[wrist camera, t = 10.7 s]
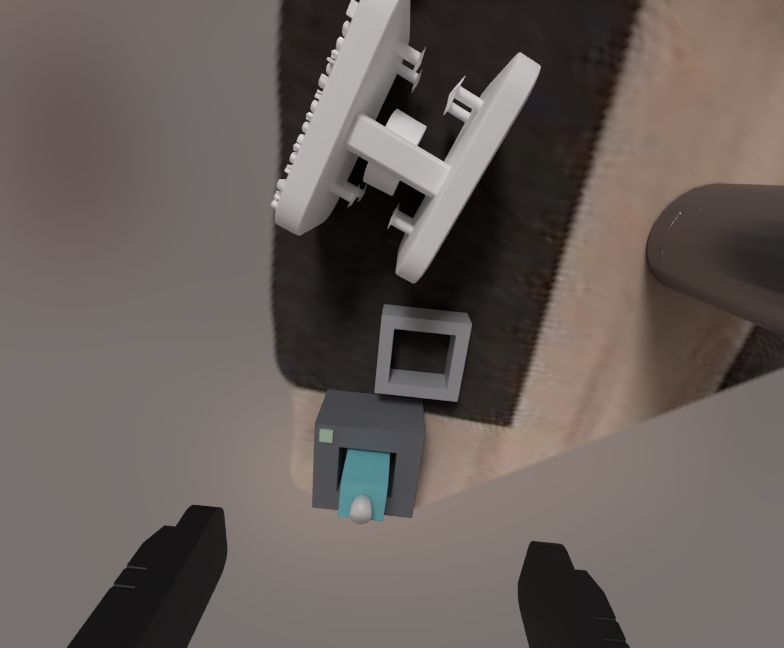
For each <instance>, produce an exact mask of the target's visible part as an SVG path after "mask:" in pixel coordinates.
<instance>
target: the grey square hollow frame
mask: <svg viewBox="0 0 784 648" xmlns="http://www.w3.org/2000/svg"><path fill="white" fill-rule="evenodd" d="M471 327H472V323H471V321H470V319H469V316H468V314H467V313H461V312H452V311H443V310H433V309H424V308H415V307H405V306H396V305H387V304H384V306H383V312H382V320H381V330H380V340H379V351H378V361H377V372H376V382H375V392H374V393H380V394H389V395H398V396H408V397H417V398H427V399H436V400H445V401H455V402H458V396H459V391H460V386H461V380H462V375H463V370H464V364H465V359H466V354H467V348H468V343H469V338H470V332H471ZM394 329H401V330H411V331H420V332H429V333H439V334H448V335H451V336H450V342H449V348H448V354H447V360H446V366H445V372H444V374H436V373H426V372H417V371H407V370H398V369H390V362H391V352H392V343H393V334H394Z"/></svg>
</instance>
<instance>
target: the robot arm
mask: <svg viewBox="0 0 784 648" xmlns="http://www.w3.org/2000/svg"><path fill="white" fill-rule="evenodd" d="M647 258H648V262H649V266H650V268H651V270H652V272H653V274H654V275H655V276H656V277H657V279H658V280H659V281H660V282H662V283H663V284H665V285H667V286H668V287H670V288H673V289H675V290H677V291H680V292H682V293H684V294H687V295H689V296H691V297H694V298H696V299H698V300H700V301H702V302H705V303H707V304H710V305H712V306H714V307H717V308H719V309H721V310H724V311H726V312H728V313H731V314H733V315H735V316H738V317H740V318H742V319H745V320H747V321H749V322H752V323H754V324H756V325H759V326H761V327H763V328H766V329H768V330H771V331H773V332H775V333H778V334H780V335H782V336H784V186H780V185H753V184H710V185H704V186H701V187H698V188H694V189H692V190H690V191H688V192H686V193H685V194H683V195H681V196H680V197H678V198H677V199H676V200H674V201H673V202H672V203H671V204H670V205H669V206H668V207H667V208H666V209H665V210H664V211H663V212H662V213H661V215H660V216H659V218H658V219H657V221H656V222H655V224H654V226H653V228H652V231H651V233H650V236H649V240H648V245H647ZM226 557H227V539H226V529H225V518H224V511H223V509H222V508H220V507H211V506H201V505H192V506H190V507H189V508H188V509H187V510H186V512H185V513H184V515H183V516H182V518H181V519H180V521H179V522H178V524H177V525H176V527H175V526H165V525H164V526H163V527H162V528H161V529H160V530H158V531H157V532H156V533H155V534H153V535H152V536H151V537H150V538H148V539H147V540H146V541H145V542H144V543H143V544H142V545H141V547H140V548H139V549H138V551H137V552H136V553H135V555H134V556H133V557H132V559H131V560H130V562H129V563H128V564H127V568H126V569H124V570H123V571H122V573H121V574H120V575H119V577H118V578H117V579H116V581H115V582H114V585H113V587H112V588H110V589H109V590H108V592H107V593H106V595H105V596H104V597H103V599H102V600H101V601H100V603H99V604H98V605H97V607H96V608H95V610H94V611H93V612H92V614H91V615H90V616H89V618H88V619H87V621H86V622H85V623H84V625H83V626H82V628H81V629H80V630H79V632H78V633H77V634H76V636H75V637H74V639H73V640H72V641H71V643H70V644H69V645H68V647H67V648H187V646H188V644H189V642H190V640H191V638H192V636H193V634H194V632H195V630H196V627H197V625H198V623H199V621H200V619H201V617H202V614H203V613H204V611H205V609H206V606H207V604H208V602H209V600H210V598H211V596H212V594H213V592H214V590H215V587H216V585H217V583H218V581H219V579H220V577H221V574H222V572H223V569H224V566H225V562H226ZM518 602H519V608H520V612H521V616H522V620H523V624H524V628H525V632H526V636H527V640H528V644H529V648H630V647H629V645H628V644H626V641H625V639H626V638H625V637H624V634H623V632H622V630H621V628H620V626H619V623H617V622H616V617H615V615H614V613H613V611H612V608H611V606H610V604H609V602H608V600H607V598H606V595H605V593H604V592H603V591H602V589H601V588H600V587H599V586H598V585H597V583H596V582H595V581H594V580H593V578H592V577H591V576H590V575H589V574H588V572H587V571H584V570H575V569H574V567H573V564H572V562H571V559H570V557H569V555H568V552H567V550H566V548H565V547H564V546H563V545H562V544H557V543H546V542H537V541H532V542H530V544H529V547H528V550H527V554H526V557H525V560H524V564H523V567H522V571H521V574H520V577H519V582H518Z"/></svg>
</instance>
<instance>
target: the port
mask: <svg viewBox="0 0 784 648" xmlns="http://www.w3.org/2000/svg"><path fill="white" fill-rule="evenodd" d="M424 438H425V429H424V414H423V399H414V398H404V397H395V396H385V395H376V394H367V393H357V392H348V391H339V390H329V389H328V390H327V393H326V395H325V398H324V401H323V403H322V406H321V409H320V411H319V414H318V417H317V419H316V422H315V438H314V467H313V499H312V507H315V508H323V509H333V510H338V509H339V498H340V487H341V479H342V474H343V469H344V465H345V460H346V456H347V451H348V448H353V449H363V450H372V451H382V452H390V461H389V477H388V489H387V496H386V503H385V510H384V515H390V516H399V517H408V518H412V514H413V508H414V501H415V495H416V489H417V482H418V476H419V470H420V463H421V457H422V451H423V444H424Z"/></svg>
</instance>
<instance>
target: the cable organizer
mask: <svg viewBox="0 0 784 648" xmlns="http://www.w3.org/2000/svg"><path fill="white" fill-rule="evenodd" d="M346 15H348V16H349V17H351V18H352V21H351V23H349V22H348V21H346V22H345V23H344V25H343V29H342V33H343V36H344V37H345V38H344V39H343V38H342V37H339V38H338V40H337V43H336V50H337V51H336V50H335V49H334V50H332V51H331V52H332V55H331V58H333V59H335V61H334V60H332V59H331V58H329V57H328V58H327V60H328V61H329V63H328V65H327V68H326V72H327V73H328V75H329V77H327V76H325V75H324V74H321V77H320V79H319V86H320V87H321V88H323V92H321V91H320V90H317V93H316V94H315V97H316V98H318V99H319V102H318V101H316V100H314V101H313V102H312V104H311V111H312V112H314V114H312V113H310V112H308V113H307V114H306V115H307V117H306V119H307V120H309V121H310V123H308V122H305V123H304V124H303V127H302V131H303V132H305V135H303V134H300V135H299V137H298V139H297V142H298V143H300V144H301V145H299V144H297V143H296V144H295V145H293V146H294V149H293V150H295V151H297V152H298V153H297V152H293V153H292V154H291V156H290V162H292V163H293V165H287V168H286V169H285V172H287V173H289V175H288V177H287V179H279V181H278V183H277V188H278V189H280V190H281V191H276V194H275V196H274V198H276V199H274V200H273V201H272V203H271V208H273V209H275V210H276V214H275V222H276V224H277V225H279V226H281V227H283V228H285V229H287V230H289V231H290V232H292V233H294V234H296V235H298V236H300V235H302V234H303V233H305V232H307V231H309V230H311V229H312V228H314V227H316V226H318V225H319V224H321V223H323V222H324V221H325V220H326V219H327V218H328V217H329V215H330V214H331V212H332V211H333V209H334V207H335V205H336V203H337V202H338V199H339V197H342V198H343V199H345V200H347V201H349V202H350V204H351V205H352V203H353V202H354V200H355V199H356V197H358V198H359V199H358V201H360V200H361V198H362V197H363V195H364V193H365V189H366V186H367V184H369V185H371V186H373V187H375V188H377V189H379V190H381V191H383V192H385V193H387V194H389V195H391V196H393V194H394V192H395V190H396V188H397V186H398V183H399V181H400V180H401V181H402V182H404V183H406V184H408V185H409V186H411V187H413V188H414V189H416V190H418V191H420V192H421V193H423V194H425V195H426V196H425V197H424V199H423V201H422V203H421V205H420V207H419V208H418V210H417V212H416V214H415V216H414V218H411V217H409V216H408V215H406V214H404V213H402V212H400V211H399V210H398V209H399V208H398V206H399V205H398V206H397V207H396V209H395V210H394V211H393V215H392V217H391V219H390V223H389V226H390V224H391V225H392V226H394V227H396V228H398V229H400V230H401V231H403V232H405V235H404V237H403V239H402V241H401V244H400V246H399V250H398V257H397V265H396V275H398V276H400V277H402V278H404V279H405V280H407V281H409V282H411V283H416V282H417V281H418V280H419V279H420V278H421V276H422V275H423V274H424V273H425V271H426V270H427V268H428V267H429V265H430V264H431V262H432V261H433V259H434V257H435V256H436V254H437V252H438V250H439V249H440V247H441V245H442V244H443V242H444V240H445V239H446V237H447V235H448V233H449V232H450V230H451V228H452V227H453V225H454V223H455V222H456V220H457V218H458V216H459V215H460V213H461V211H462V210H463V208H464V206H465V204H466V203H467V201H468V199H469V198H470V196H471V194H472V193H473V191H474V189H475V187H476V186H477V184H478V182H479V181H480V179H481V177H482V176H483V174H484V172H485V170H486V169H487V167H488V165H489V164H490V162H491V160H492V158H493V157H494V155H495V153H496V152H497V150H498V148H499V147H500V145H501V143H502V141H503V140H504V138H505V136H506V135H507V133H508V131H509V130H510V128H511V126H512V124H513V123H514V121H515V119H516V118H517V116H518V114H519V112H520V111H521V109H522V107H523V106H524V104H525V102H526V100H527V99H528V97H529V95H530V93H531V91H532V89H533V87H534V85H535V83H536V80H537V78H538V75H539V72H540V65H539V64H537V63H536V62H534V61H533V60H531V59H530V58H528V57H527V56H525V55H524V54H522V53H518V54H517V55H516V56H515V57H514V58H513V59H512V60H511V61H510V62H509V63H508V65H507V66H506V67H505V68H504V69H503V70H502V71H501V72H500V73H499V74H498V76H497V77H496V78H495V79H494V80H493V81H492V82H491V83H490V84H489V86H488V87H487V88H486V89H485V91H484V92H483V93H482V95H481V96H480V98H478V97H477V96H475V95H474V94H472V93H470V92H469V91H467V90H466V89H464V88H462V87H461V86H460V85H461V83H462V81H463V79H464V78H463V79H462V80H461V81H460V82H459V83H458V85H457V86H456V87H455V88H454V89H453V90H452V92H451V93H450V94H449V98H448V103H447V106H446V109H445V112H444V114H445V113H446V112H449V113H451V114H452V115H454V116H455V117H457V118H459V119H460V120H462V121H463V122H465V124H464V126H463V128H462V129H461V131H460V133H459V135H458V137H457V139H456V140H455V142H454V144H453V146H452V148H451V150H450V151H449V153H448V155H447V157H446V159H445V161H444V162H443V161H442V160H440V159H438V158H437V157H435V156H433V155H432V154H430V153H428V152H426V151H425V150H423V149H421V148H420V147H418V144H419V142H420V140H421V138H422V136H423V134H424V132H425V130H426V126H425V125H423V124H421V123H420V122H418V121H416V120H415V119H413V118H412V117H410V116H408V115H407V114H405V113H403V112H402V111H400V110H398V109H396V110H395V111H394V112H393V114H392V115H391V117H390V119H389V120H388V122H387V124H386V126H383V125H381V124H380V123H378V122H376V121H375V120H376V118H377V116H378V114H379V112H380V109H381V107H382V105H383V103H384V101H385V99H386V97H387V94H388V92H389V90H390V88H391V86H392V84H393V82H394V79H395V77H396V75H397V74H398V75H400V76H402V77H403V78H405V79H406V80H408V81H410V82H411V83H413V84H414V86H413V87H412V89H413V90H414V89H415V87H416V86H417V84H418V82H419V79H420V76H421V72H422V70H421V72H420V74H417V73H416V71H417V69H418V67H419V66H420V64H421V61H422V58H423V54H424V51H425V49H424V51H423V52H422V54H421V53H419V52H418V51H416V50H415V49H413V48H411V47H410V46H408V43H409V37H410V0H360V2H359V3H357V2H356V1H354V0H351V2H350V5H349V7H348V10H347V12H346ZM425 48H426V47H425ZM403 59H405V60H407V61H408V62H410V63H412V64H413V65H415V68H414V69H413V70H411V69H409V68H408V67H406V66H405V65H403V64H402V61H403ZM464 77H465V76H464ZM412 89H411V90H412ZM413 90H412V92H413ZM411 94H412V93H411ZM454 98H455V99H457V100H459V101H460V102H462V103H464V104H465V105H467V106H468V107H470V108H472V111H471V113H469V112H467V111H466V110H464V109H462V108H461V107H459V106H458V105H456V104H454V103H453V102H452V101H453V99H454ZM358 157H361V158H363V159H364V160H366V161H368V164H367V167H366V170H365V173H364V177H363V182H365V183H367V184H366V186H365V188H364V190H362V189H360V188H359V187H356V186H355V185H353V184H351V183H349V182H348V181H347V180H348V178H349V176H350V174H351V172H352V170H353V167H354V165H355V163H356V161H357V159H358ZM359 186H360V185H359ZM358 201H357V202H358ZM350 204H349V205H350ZM399 204H400V203H399ZM349 205H348V207H349ZM348 207H347V208H348ZM397 208H398V209H397ZM389 226H388V228H389Z"/></svg>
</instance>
